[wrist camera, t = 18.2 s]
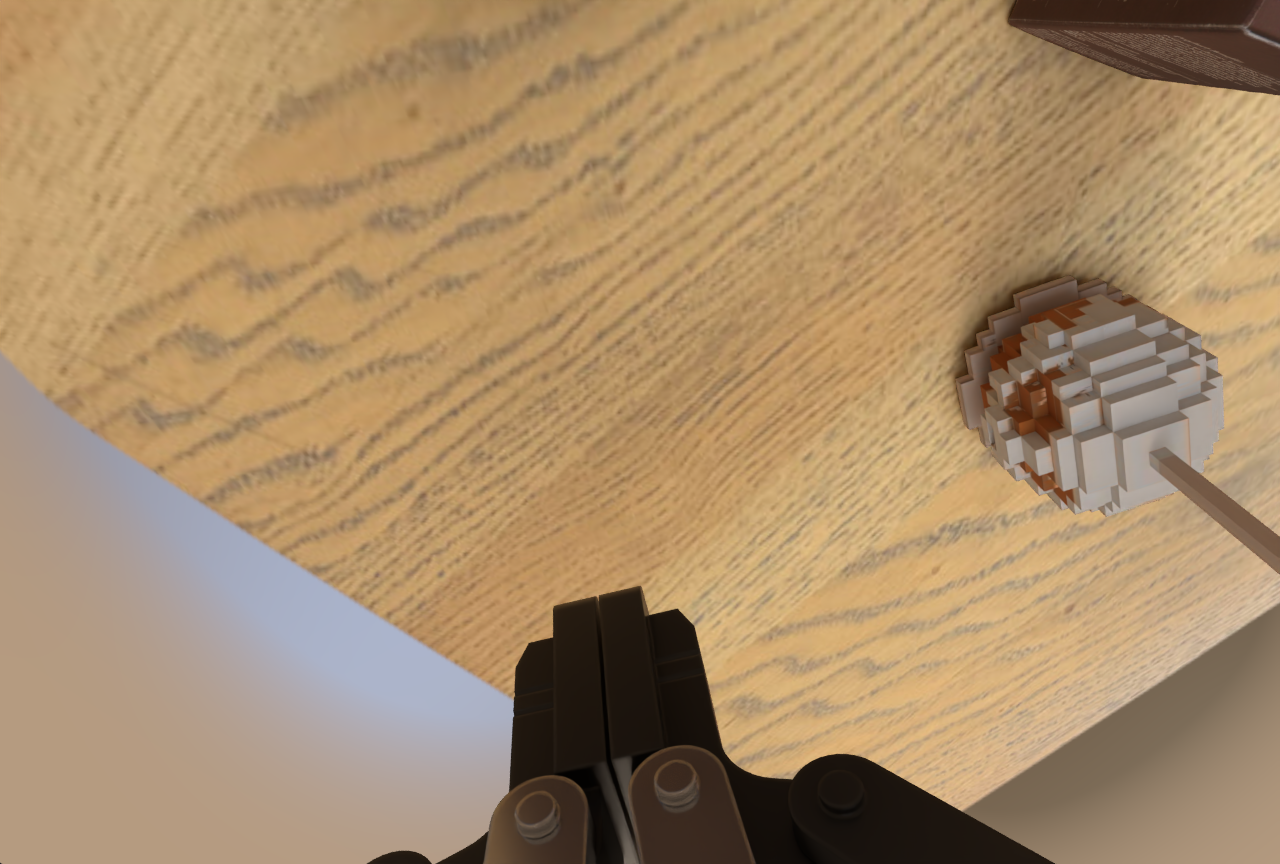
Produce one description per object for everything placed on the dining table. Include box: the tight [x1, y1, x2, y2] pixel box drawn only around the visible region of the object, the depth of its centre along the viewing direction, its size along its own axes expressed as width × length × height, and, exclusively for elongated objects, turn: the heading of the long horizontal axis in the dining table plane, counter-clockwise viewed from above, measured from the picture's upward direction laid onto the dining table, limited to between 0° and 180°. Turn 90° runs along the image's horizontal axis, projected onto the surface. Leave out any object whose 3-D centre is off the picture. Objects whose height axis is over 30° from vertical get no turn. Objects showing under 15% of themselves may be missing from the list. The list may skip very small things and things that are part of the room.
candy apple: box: [956, 275, 1280, 574], centre depth 30 cm, size 8×8×15 cm
